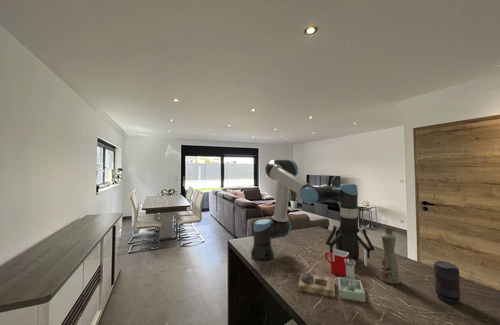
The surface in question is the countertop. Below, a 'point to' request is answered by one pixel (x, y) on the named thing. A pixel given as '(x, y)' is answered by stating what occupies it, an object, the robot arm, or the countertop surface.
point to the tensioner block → (311, 281)
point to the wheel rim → (348, 246)
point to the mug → (338, 262)
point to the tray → (350, 295)
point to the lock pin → (350, 274)
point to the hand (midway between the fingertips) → (349, 262)
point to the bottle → (389, 258)
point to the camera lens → (447, 282)
